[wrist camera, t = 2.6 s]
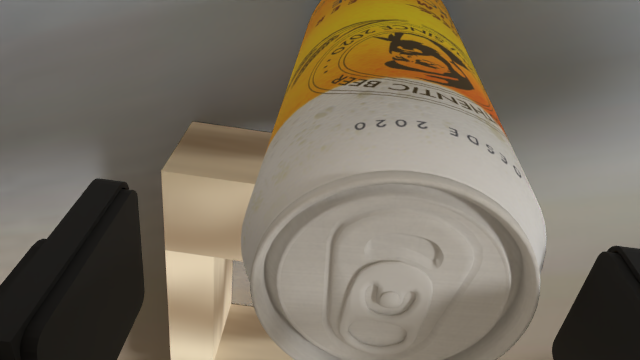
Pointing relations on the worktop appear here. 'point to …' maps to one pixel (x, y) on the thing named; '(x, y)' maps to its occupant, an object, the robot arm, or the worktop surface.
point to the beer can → (391, 198)
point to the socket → (211, 243)
